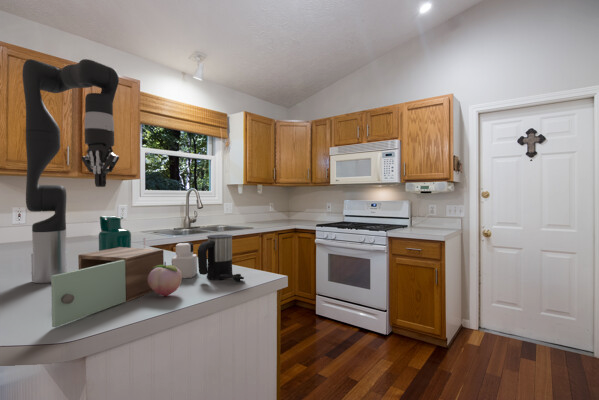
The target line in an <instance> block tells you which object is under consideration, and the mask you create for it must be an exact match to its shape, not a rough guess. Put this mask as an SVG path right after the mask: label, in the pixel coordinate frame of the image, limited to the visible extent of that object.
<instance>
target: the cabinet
mask: <svg viewBox="0 0 599 400" xmlns="http://www.w3.org/2000/svg"><path fill="white" fill-rule="evenodd" d="M77 258H78V259H77V260H78V261H77V262H78V270H80V269H84V268H89V267H93V266H98V265H102V264H107V263H111V262H116V261H120V260H125V289H126V301H125V303H126V302H129V301H132V300H134V299H137V297H138V298H140V297H143V296H145V295H148V294H150V293H152V292H154V291H153V290H152V289H151V288H150V286H149V284H148V276H149V274H150V272H151V271H152V269H153V267H155V266H158V265H165V261H164V258H165V257H164V249H160V248H158V249H157V248H150V249H144V247H141V248H140V247H131V248H125V247H118V248H113V249H107V250H102V251H99V250H97V251H96V250H95V251H92V252H87V253H82V254H78V257H77ZM142 295H143V296H142ZM139 296H140V297H139Z"/></svg>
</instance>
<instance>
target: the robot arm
mask: <svg viewBox="0 0 599 400" xmlns="http://www.w3.org/2000/svg"><path fill="white" fill-rule="evenodd" d="M22 66H23V67H22V84H23V92H24V93H23V94H24V101H25V102H24V103H25V149H26V167H27V168H26V186H25V205H26V208H27V210H28V211H29V212H35V213H37V212H43V213H44V212H54V214H53V215H52V216H50V217H48V218H46V219H43V220H40V221H37V222H34V223H32V226H31V232H32V235H31V236H32V237H31V238H32V242H31V243H32V253H31V255H30V256H31V281H32V282H33V283H34V284H47V283H51V276H53V275H57V274H62V273H66V272H68V270H67V269H68V268H67V267H68V264H67V263H68V262H67V261H68V260H67V259H68V258H67V255H68V254H67V251H68V250H67V222H66V221H67V220H66V217H67V216H66V214H67V190H66V188H65V186H63V185H61V184H60V185H59V184H39V180H40V177H41V175H42V173H43V172H44V171H45V169H46V167H47V166H48V165H49V164H50V163H51V161H52V160H54V158H55V157H56V156H57V154H58V153H59V151H60V149H61V130H60V128H59V127H60V126H59V124H58V123H57V121H56V120H55V118H54V117H53V116H52V115H51V113H50V112H49V110H48V109H47V107H46V105H45V103H44V101H43V98H42V93H41V91H44V92H47V93H52V94H59V93H64V92H67V91H69V90H72V89H85V88H86V89H87V88H89V89H90V88H92V87H96V88H99V89H101V91H100V92H99V93H98V92H91V93H87V94H86V95H85V100H84V102H85V105H84V106H85V109H84V110H85V115H84V144H85V145H87V150H86V152H87V154H86V155H85V156H81V158H80V159H81V161H82V163H83V164H84V166H85V167H86V169H87V170H88V171H87V172H89V173H92V174H93V175H94V185H95V187H96V188H105V187H106V185H107V175H108V173H112V171H113V170H114V169H115V167H116V164H118V161H119V160H120V156H119V155H116V154H115V153H114V150H113V148H112V147H114V146H115V123H114V122H115V121H114V107H113V106H114V99H115V96H116V93H117V90H118V87H119V84H120V83H119V82H120V78H119V76H120V75H119V74H118V72H117V70H116V69H114V67H111V66H109V65H106V64H103V63H100V62H98V61H95V60H92V59H87V58H85V59H81V60H80V61H79V62H77V63H74V64H72V63H71V64H68V65H65V66H64V67H62V68H59V67H57V66H55V65H51V64H48V63H45V62H43V61H39V60H36V59H31V58H29V59H27V60H25V61H24V63H23V65H22Z"/></svg>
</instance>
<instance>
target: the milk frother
mask: <svg viewBox="0 0 599 400" xmlns="http://www.w3.org/2000/svg"><path fill="white" fill-rule="evenodd" d="M206 238H207V240H206V241H202V242H201V243H200V244H199V246H198V248H197V267H198V274H200V275H203V276H205V275H206V279H208V280H213V281H215V280H217V281H218V280H219V281H220V280H227V279H230V280H234V281H235V282H236V283H237V282H241V280H245V277H244V276H242V273H235V274H233V235H232V234H209V235H207V236H206Z"/></svg>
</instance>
